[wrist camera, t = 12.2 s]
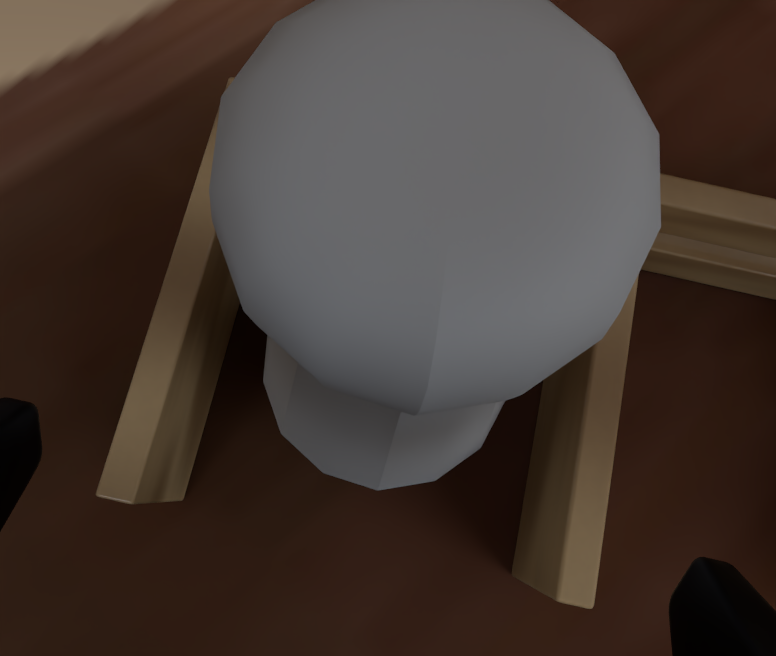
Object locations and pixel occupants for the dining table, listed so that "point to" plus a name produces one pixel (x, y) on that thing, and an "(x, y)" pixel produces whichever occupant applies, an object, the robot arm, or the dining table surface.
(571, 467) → the rack
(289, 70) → the salt shaker
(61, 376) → the dining table surface
